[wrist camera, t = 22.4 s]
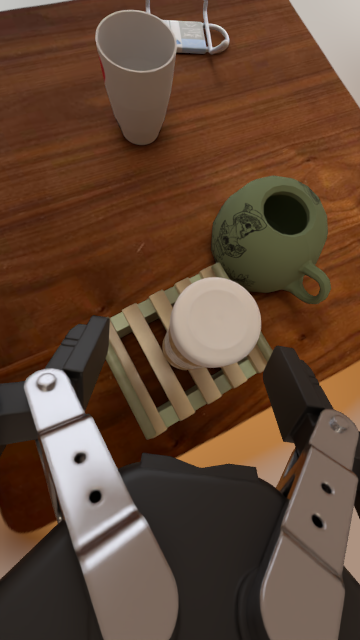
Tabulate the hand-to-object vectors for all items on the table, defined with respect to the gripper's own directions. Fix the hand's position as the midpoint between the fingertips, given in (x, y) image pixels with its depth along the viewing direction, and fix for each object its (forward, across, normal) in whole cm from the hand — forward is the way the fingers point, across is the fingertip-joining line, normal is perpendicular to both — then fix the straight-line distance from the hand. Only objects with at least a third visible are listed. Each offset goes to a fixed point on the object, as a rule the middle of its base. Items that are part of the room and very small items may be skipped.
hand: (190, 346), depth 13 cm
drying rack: (+14, -1, +12) cm, 18 cm away
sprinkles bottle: (+10, -1, +8) cm, 13 cm away
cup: (+35, +8, -9) cm, 37 cm away
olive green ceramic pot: (+23, -10, +2) cm, 26 cm away
